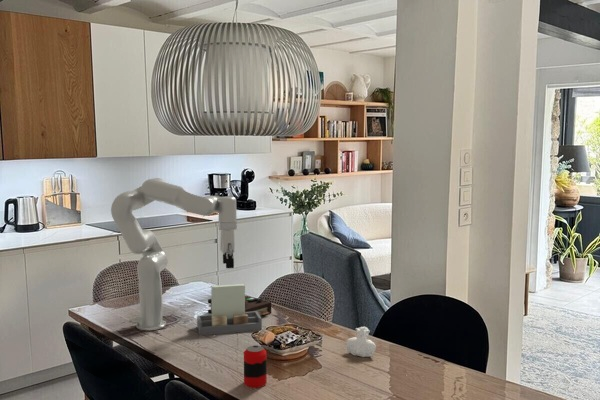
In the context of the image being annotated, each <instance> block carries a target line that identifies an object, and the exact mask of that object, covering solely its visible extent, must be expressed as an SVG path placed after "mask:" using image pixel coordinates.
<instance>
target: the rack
mask: <svg viewBox="0 0 600 400" xmlns="http://www.w3.org/2000/svg"><path fill="white" fill-rule="evenodd" d="M245 314H247V315H248V323H245V324H233V318H232V319H227V325H220V326H212V314H203V315H197V316H196V320H197V321H196V322H197V323H196V325H197V326H196V327H197V330H198V335H199V336H203V335H204V336H205V335H216V334H217V335H218V334H229V333H241V332H252V331H254V332H255V331H262V330H263V328H262V324H263V323H262V322H263V321H262V319H263V318H262V317H260V315H259V313H258V312H257V311H253V312H245Z"/></svg>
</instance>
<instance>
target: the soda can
mask: <svg viewBox="0 0 600 400" xmlns="http://www.w3.org/2000/svg"><path fill="white" fill-rule="evenodd" d="M267 359H268V356H267V350H266V349H265V348H264V347H263V346H262V345H250V346H247V347H246V348H245V350H244V352H243V384H244V386H246V387H248V388H250V387H251V388H252V389H257V388H262V387H264V386H266V384H267V383H268V382H267V381H268V377H267V376H268V375H267V373H268V371H267V369H268V368H267V365H268V363H267V362H268V361H267ZM251 388H250V389H251Z"/></svg>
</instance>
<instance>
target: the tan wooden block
mask: <svg viewBox="0 0 600 400" xmlns="http://www.w3.org/2000/svg"><path fill="white" fill-rule="evenodd" d="M245 323H248V315H247V314H239V315H233V324H245Z"/></svg>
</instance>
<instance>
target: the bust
mask: <svg viewBox="0 0 600 400" xmlns="http://www.w3.org/2000/svg"><path fill="white" fill-rule="evenodd" d="M370 331H371V330H370V329H369V328H368V327H366V326H360V327H356V328H355V332H356V334H357V337H356V336H355V337H351V338H348V339H346V342H345V348H346V351H347V353H349V354H351V355H353V356H357V357H362V358H365V357H366V358H369V357H373V355H374V352H375V351H376V349H377V346H376V344H375V342H373V340H371V339H368V338H367V336H369V333H370Z"/></svg>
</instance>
